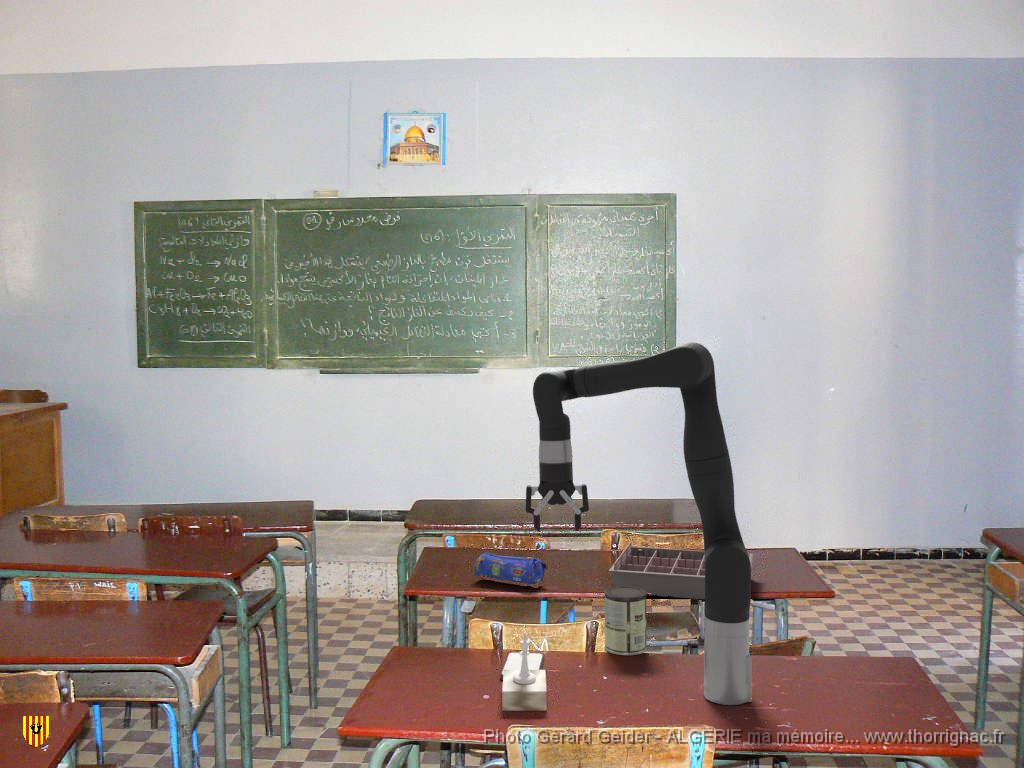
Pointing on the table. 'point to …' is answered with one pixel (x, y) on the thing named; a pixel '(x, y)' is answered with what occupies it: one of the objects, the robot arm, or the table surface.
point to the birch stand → (524, 692)
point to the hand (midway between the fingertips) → (557, 530)
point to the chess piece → (524, 665)
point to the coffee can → (625, 620)
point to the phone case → (515, 662)
